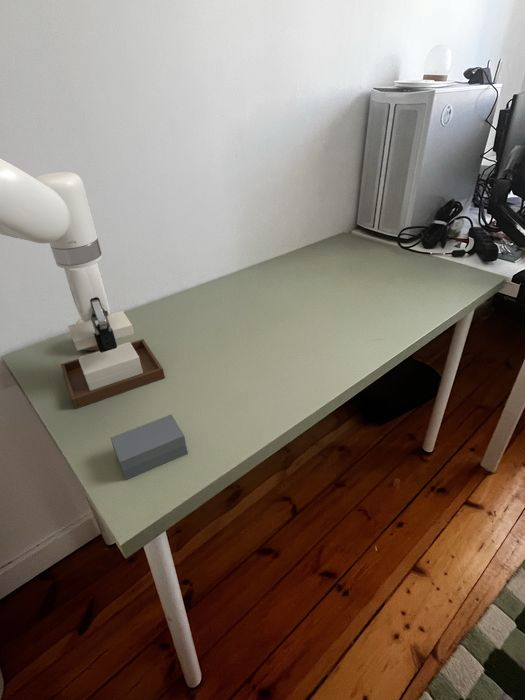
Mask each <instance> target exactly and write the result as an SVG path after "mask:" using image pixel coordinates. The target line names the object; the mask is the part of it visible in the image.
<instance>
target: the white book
mask: <svg viewBox="0 0 525 700" xmlns="http://www.w3.org/2000/svg"><path fill="white" fill-rule="evenodd" d="M107 317H108V320H109V323H110V326H111V328H112V330H113V333H114V337H115V340H118V339H121V338H125V337H128V336H132V335H134V334H135V332H134V327H133V324H132V323H131V321H130V320H129V318H128V316H127V315H126V314H125V312H124V310H120V311H117V312H113V313H110V315H109V316H107ZM95 322H96V325H97V324H98V320H96V321H95ZM67 327H68V330H69V333H70V337H71V339H72V341H73V343H74V344H73V345H74V347H75V348H76V351H77V352H78V351H82V350H85V348H88V347H92V346H95V345H97V342H96V339H95V336H94V333H95V330H94V327H93V324H92V322H91V320H90V321H87V322H80V323H77V324H76V323H73V324H71V325H67Z"/></svg>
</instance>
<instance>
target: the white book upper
mask: <svg viewBox="0 0 525 700" xmlns="http://www.w3.org/2000/svg"><path fill="white" fill-rule="evenodd" d="M131 343H132V342H130V341H128V342H124V343H122V344H121V343H120V344H118V345H117V348H115V349H112V350H109V351H106V352H102V353H101V352H100V351H99V350H98V351H95V352H93V353H88V354H85V355H82V356H79V357H77V359H79V362H80V365H81V368H82V371H83V373H84V376H85V378H86V381H87V383H88V382H91V381H94V380H97V379H100V378H103V377H106V376H109V375H112V374H115V373H118V372H121V371H124V370H128V369H131V368H134V367H137V366H140V365H141V363H140V359H139V356H138V355H137V353H136V351H135V350H134V348H133V346H132V345H131Z"/></svg>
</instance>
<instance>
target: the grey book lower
mask: <svg viewBox="0 0 525 700" xmlns="http://www.w3.org/2000/svg"><path fill="white" fill-rule="evenodd" d="M112 447H113V446H112ZM113 451H114V453H115V450H114V447H113ZM186 455H188V446H187V444H186V445H184V446H181V447H179V448H177V449H174V450H172V451H169V452H167V453H165V454H162V455H160V456H158V457H155V458H153V459H150V460H148V461H146V462H143V463H141V464H139V465H136V466H134V467H131V468H129V469H127V470H124V471H123V470H122V468H121V465H120V463H119V460H118V458H117V455H116V453H115V456H116V459H117V461H118V464H119V467H120V469H121V472H122V475H123V477H124V479H125V481H128V480H130V479H132V478H134V477H137V476H139V475H141V474H143V473H146V472H148V471H151V470H152V469H156V468H158V467H160V466H162V465H164V464H166V463H169V462H171V461H174V460H176V459H178V458H181V457H183V456H186Z"/></svg>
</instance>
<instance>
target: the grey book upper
mask: <svg viewBox="0 0 525 700" xmlns="http://www.w3.org/2000/svg"><path fill="white" fill-rule="evenodd" d="M110 441H111V444H112V447H114V448H113V451H114V450H115V451H114V453H116V454H115V456H116V455H117V456H116V459H117V458H118V459H117V461H118V460H119V462H118V464H119V463H120V464H119V466H120V465H121V467H120V469H121V468H122V469H121V471H122V470H123V471H124V470H127V469H129V468H131V467H134V466H136V465H139V464H141V463H143V462H146V461H148V460H150V459H153V458H155V457H158V456H160V455H162V454H165V453H167V452H169V451H172V450H174V449H177V448H179V447H181V446H184V445H186V446H187V441H186V437H185V434H184V432H183V431H182V429H181V427H180V426H179V424H178V423H177V421H176V419H175V418H174V416H173V414H168V415H166V416H163V417H160V418H158V419H155V420H152V421H149V422H147V423H145V424H142V425H140V426H137V427H135V428H132V429H129V430H127V431H124V432H121V433H119V434H116V435H114V436H110Z"/></svg>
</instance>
